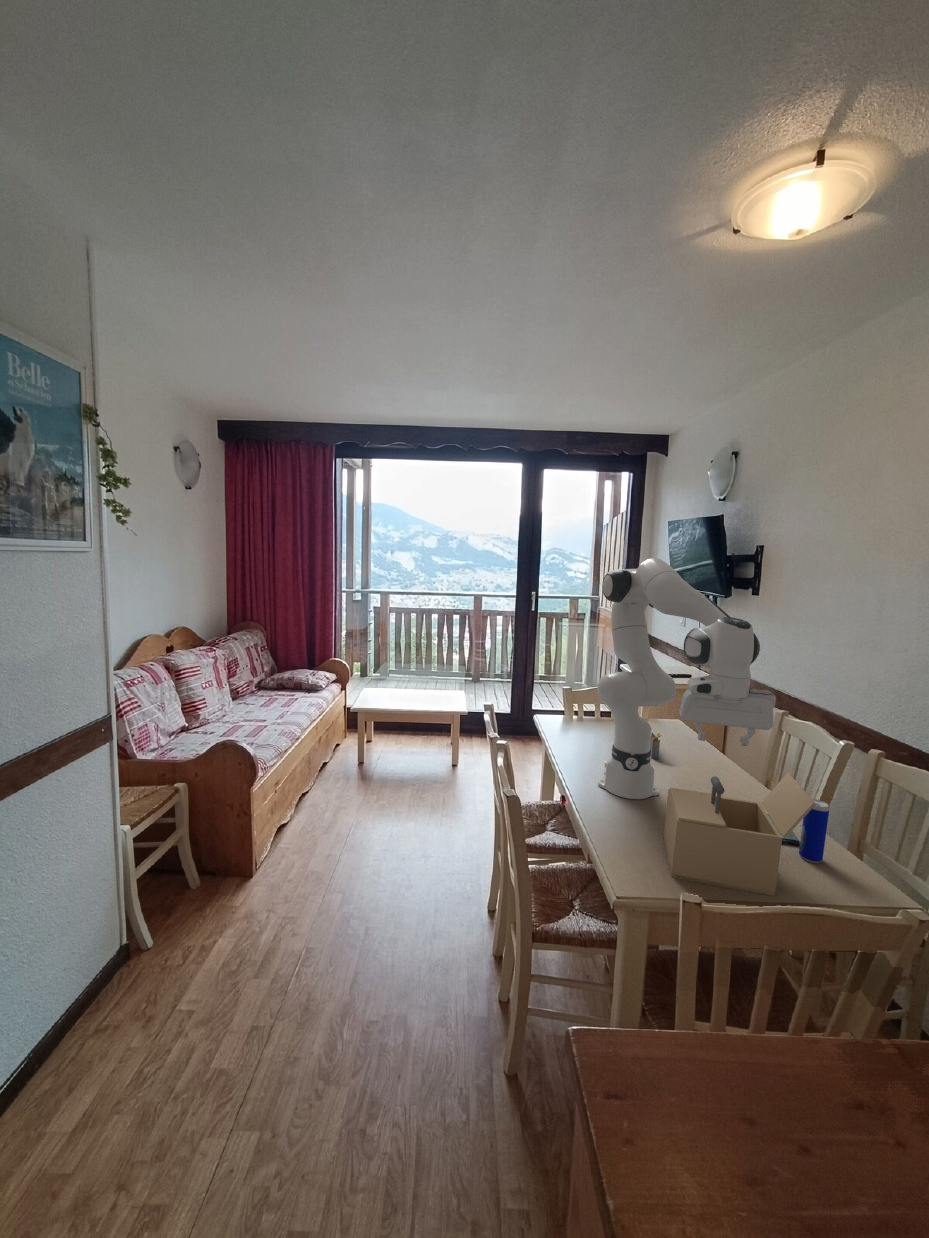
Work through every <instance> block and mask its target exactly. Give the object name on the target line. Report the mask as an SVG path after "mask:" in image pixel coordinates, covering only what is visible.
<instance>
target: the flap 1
mask: <svg viewBox="0 0 929 1238" xmlns="http://www.w3.org/2000/svg"><path fill="white" fill-rule="evenodd" d="M710 782H711V786H712V788H711V793H709V792H702V791H695V790H691V789H690V790H689V789H682V788H674V787H669V789H670V793H671V796H672V800H673V803H674V807H675V810H676V814H677V817H678V820H682V821H688V822H694V823H700V824H707V825H713V826H719V827H726V824H725V822H724V819H723V817H722V815H721V813H720V811H719V810H720V801H721V797H722V795H723V794H724V793H725V788H724V786H723V784H722V782H721V781H720V778H719V777H717V776H715V775H714V776H711V778H710ZM716 796H717V797H716ZM715 798H716V802H715Z"/></svg>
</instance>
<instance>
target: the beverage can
mask: <svg viewBox="0 0 929 1238" xmlns="http://www.w3.org/2000/svg"><path fill="white" fill-rule="evenodd" d="M812 800H813V801H814V802H815V803H816V805H815V806H814V807H813V808H812V809H811V810H810V811H809V813H808V814H807V815H806V816H805V817H804V818H803V819H802V826H801V834H800V840H799V841H800V846H798V847H799V848H798V849H799V850H798V854H799V857H800V858H801V859H802V860H803V861H806V862H808V863H812V864H819V863H821V862H823V858H824V852H825V844H826V837H827V829H828V822H829V815H830V806H829V804H828V803H827V802H825V801H823V800H820V799H817V798H812Z"/></svg>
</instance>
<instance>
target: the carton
mask: <svg viewBox="0 0 929 1238" xmlns="http://www.w3.org/2000/svg"><path fill="white" fill-rule="evenodd" d="M716 797H717V795H716ZM715 802H716V798H715ZM665 811H666V812H665V819H664V827H663V828H664V831H663V843H664V848H665V853H666V858H667V862H668V866H669V868H668V869H669V873H670V877H671V878H675V879H679V880H685V881H691V882H696V883H701V884H707V885H711V886H716V887H718V886H719V887H723V888H727V889H728V888H729V889H733V890H739V891H744V892H749V893H756V894H759V895H760V894H761V895H766V896H771V897H775V896H776V891H777V890H776V889H777V883H778V875H779V866H780V858H781V851H782V850H781V849H782V844H783V843H782V837H781V835H780V833H779V832H778V830H777V829H776V827H775V826H774V824H773V823H772V821H771V819H770V818H769V816H768V815H767V814H768V812H767V811H766V809H765V808H764V806H763V805H762V803H761V802H758V801H757V802H756V801H752V800H751V801H750V800H746V799H745V800H743V799H737V798H730V797H724V796H721V801H720V810H719V811H720V813H721V815H722V817H723V819H724V822H725V824H726V827H719V826H713V825H707V824H700V823H694V822H688V821H682V820H678V817H677V814H676V810H675V807H674V803H673V800H672V796H671V793H670V788H669V789H667V800H666V810H665Z"/></svg>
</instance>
